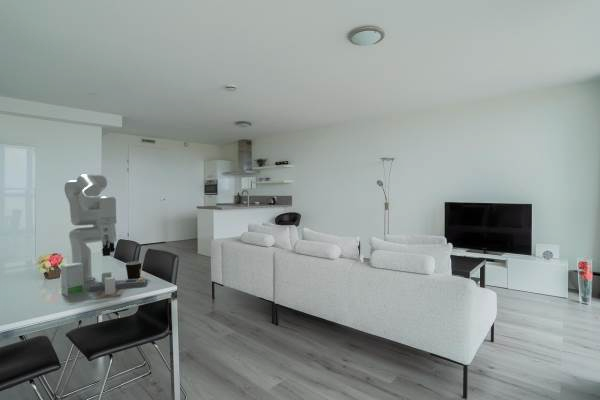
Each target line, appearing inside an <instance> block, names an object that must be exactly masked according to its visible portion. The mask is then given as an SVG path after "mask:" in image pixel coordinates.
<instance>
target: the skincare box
mask: <svg viewBox="0 0 600 400" xmlns="http://www.w3.org/2000/svg"><path fill="white" fill-rule="evenodd" d="M60 275H61V276H60V278H61V281H60V282H61V283H60V284H61V295H63V296H66V297H69V296H72V295H76V294H80V293H83V292H84V293H85V290H84V289H85V287H84V286H85V284H84V283H85V282H84V277H83V264H82V263H72V262H71V263H66V264H61V265H60Z"/></svg>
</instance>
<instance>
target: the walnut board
mask: <svg viewBox="0 0 600 400" xmlns="http://www.w3.org/2000/svg"><path fill="white" fill-rule="evenodd" d="M124 290H125V288H121V289H115V293H114V294H109V295H105V290H100V292H99V293H98V294H97V295H96V296H95V299H102V298H112V297H120V296H121V295H122V293H123V292H124Z"/></svg>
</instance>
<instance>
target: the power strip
mask: <svg viewBox="0 0 600 400" xmlns="http://www.w3.org/2000/svg"><path fill="white" fill-rule="evenodd" d="M146 283H147V278H146V277H140V278H139V279H128V278H127V279H119V280H115V290H120V289H128V288H129V289H130V288H139V287H145V285H146ZM99 291H100V292H101V291H105V285H102V281H96V282H93V283H92V284H91V285H90V286H89V292H99Z"/></svg>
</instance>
